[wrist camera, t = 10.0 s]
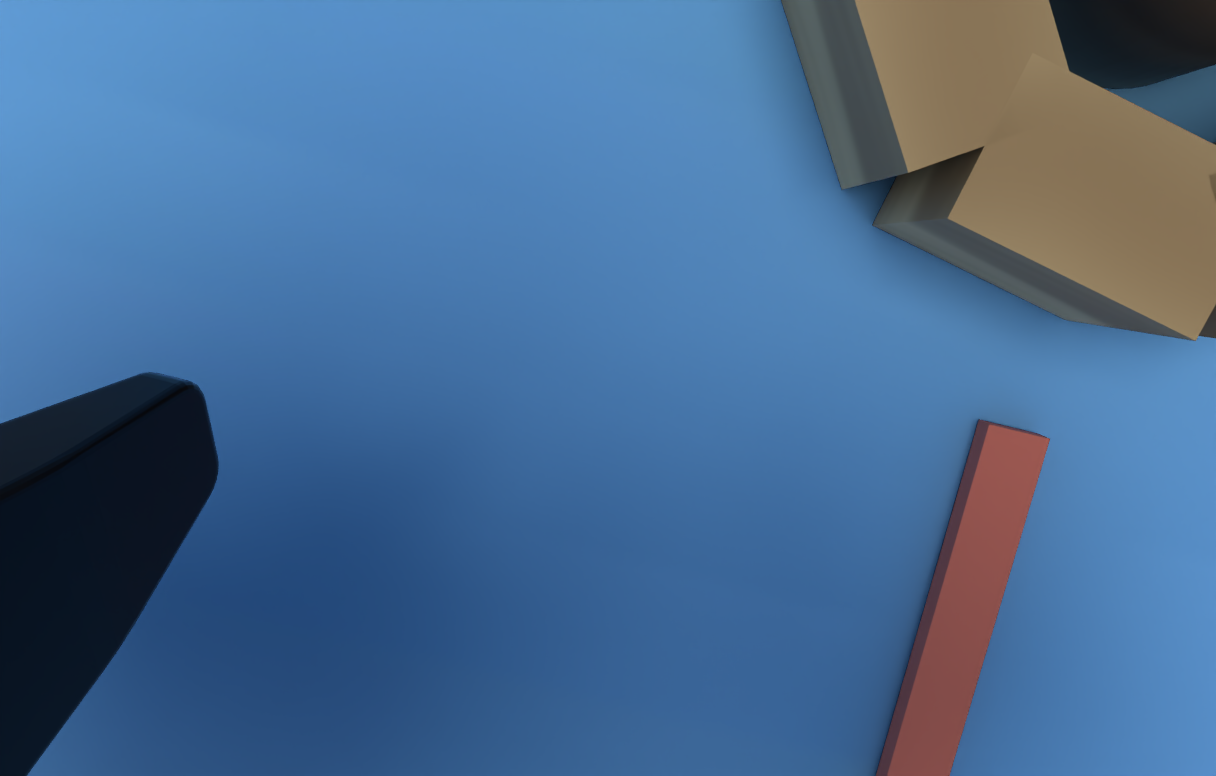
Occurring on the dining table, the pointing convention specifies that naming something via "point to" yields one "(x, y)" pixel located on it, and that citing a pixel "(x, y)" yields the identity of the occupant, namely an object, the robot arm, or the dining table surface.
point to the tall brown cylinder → (1135, 39)
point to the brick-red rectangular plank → (963, 600)
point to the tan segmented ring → (1015, 158)
